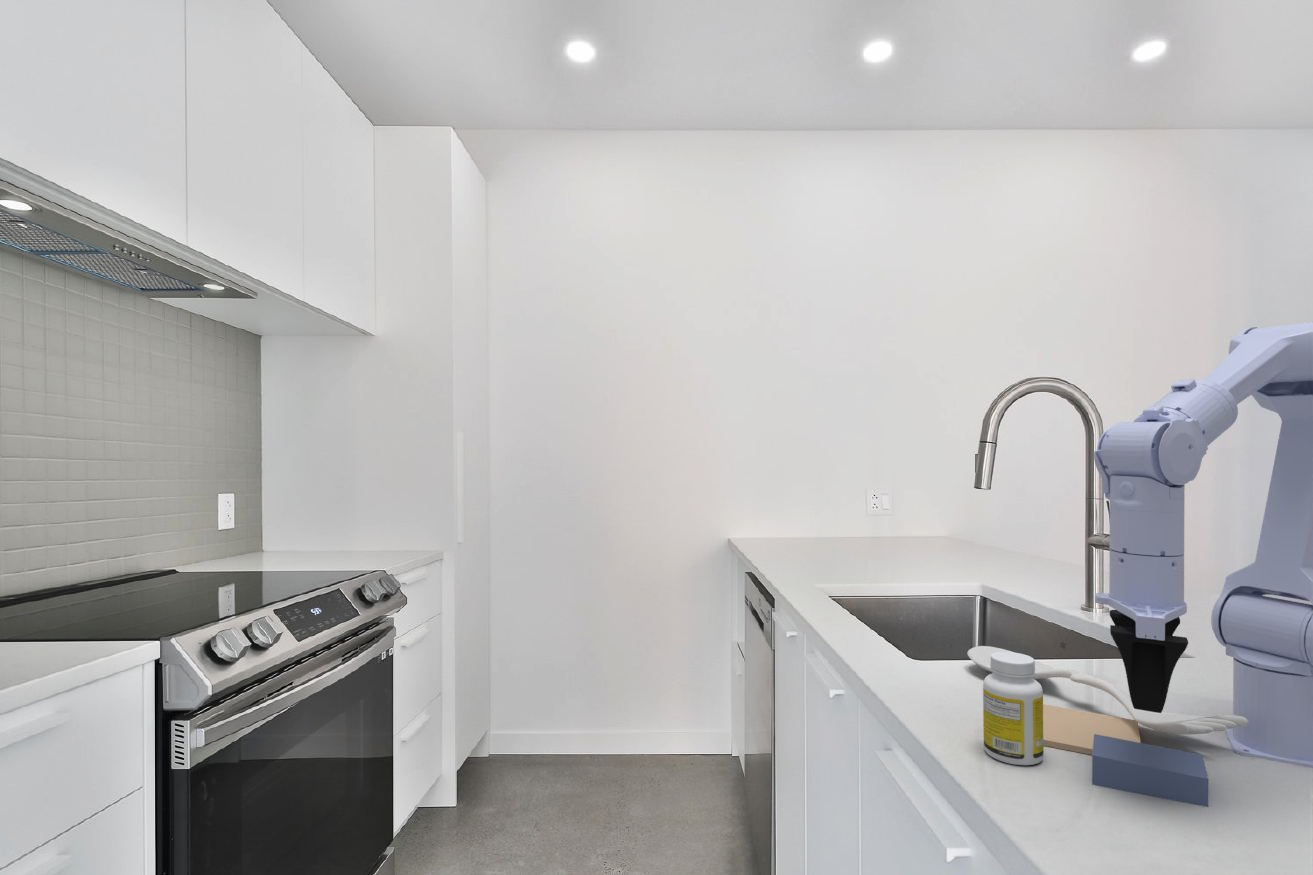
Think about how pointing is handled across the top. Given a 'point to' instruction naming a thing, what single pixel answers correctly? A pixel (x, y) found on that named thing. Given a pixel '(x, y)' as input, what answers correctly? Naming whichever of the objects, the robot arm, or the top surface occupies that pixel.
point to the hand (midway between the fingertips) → (1145, 698)
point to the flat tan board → (1083, 728)
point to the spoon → (1125, 700)
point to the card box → (1149, 770)
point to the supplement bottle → (1013, 710)
